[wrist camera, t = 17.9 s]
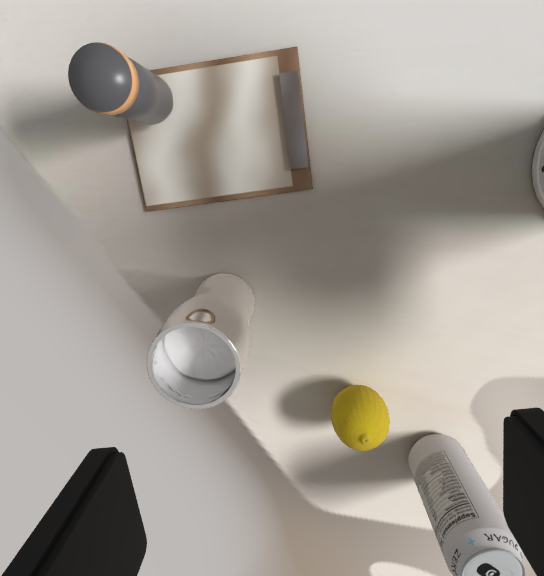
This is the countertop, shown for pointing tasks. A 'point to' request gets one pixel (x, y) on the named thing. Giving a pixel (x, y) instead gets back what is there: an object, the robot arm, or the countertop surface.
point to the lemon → (360, 417)
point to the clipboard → (226, 132)
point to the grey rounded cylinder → (118, 85)
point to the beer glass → (204, 344)
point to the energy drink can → (463, 511)
